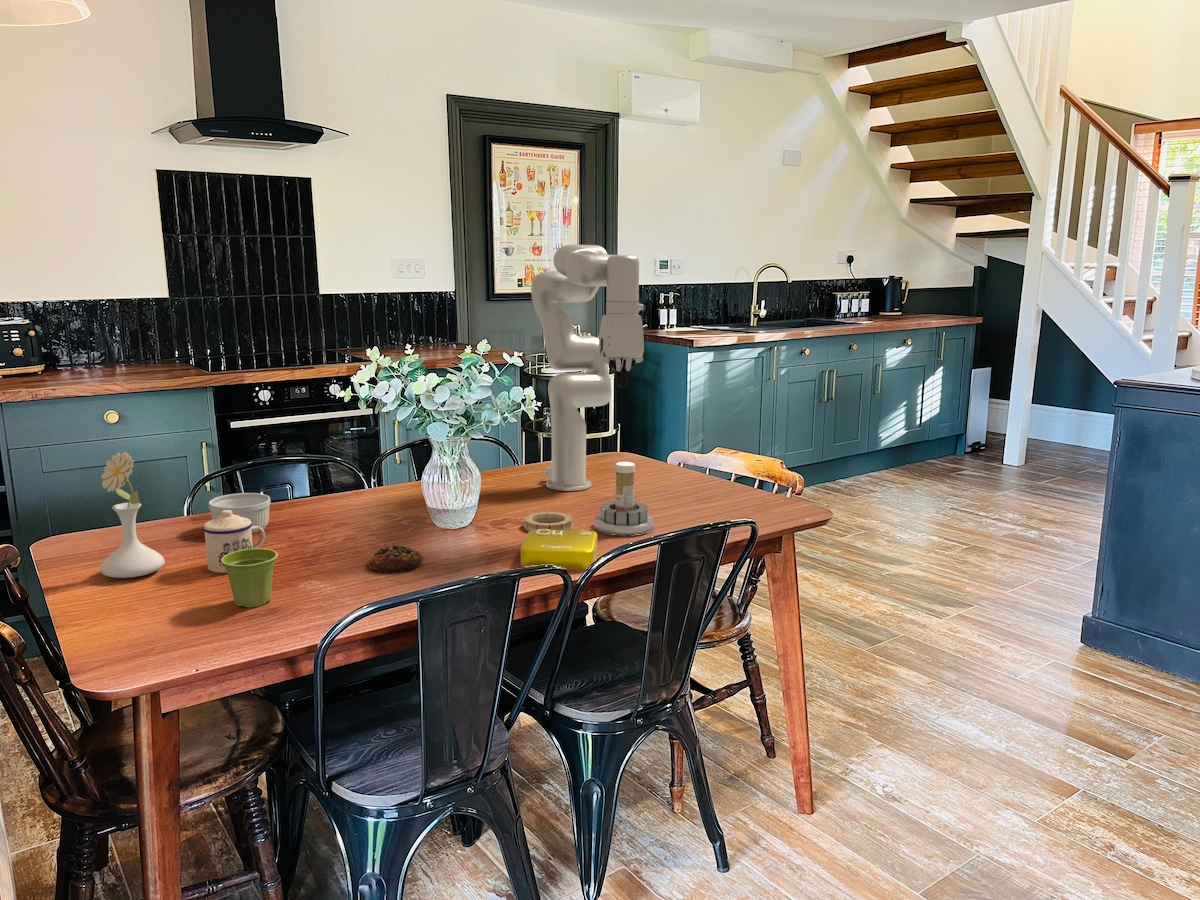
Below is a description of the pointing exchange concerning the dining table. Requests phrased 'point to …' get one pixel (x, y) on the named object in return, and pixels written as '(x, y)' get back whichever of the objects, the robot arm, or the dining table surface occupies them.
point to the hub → (623, 520)
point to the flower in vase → (127, 526)
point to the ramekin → (243, 507)
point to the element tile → (560, 548)
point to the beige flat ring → (533, 521)
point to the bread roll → (395, 559)
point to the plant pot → (250, 575)
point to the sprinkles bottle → (624, 486)
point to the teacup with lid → (228, 538)
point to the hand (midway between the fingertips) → (621, 387)
